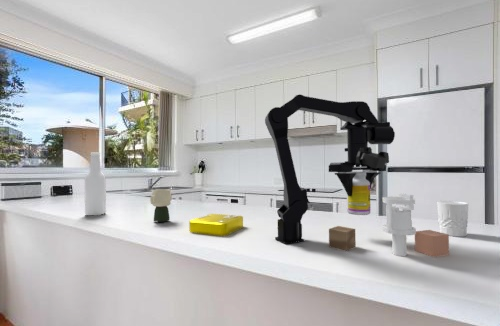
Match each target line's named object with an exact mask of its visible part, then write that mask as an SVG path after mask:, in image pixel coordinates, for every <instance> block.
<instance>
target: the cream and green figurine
mask: <svg viewBox="0 0 500 326" xmlns="http://www.w3.org/2000/svg"><path fill="white" fill-rule="evenodd" d="M151 194H152V195H150V197H149V198H150V200H149V201H150V204H151V205H152V206H154V207H155V208H154V215H153V222H158V223H160V222H169V221H170V212H169V208H168V206H170V205H171V201H172V196H173V195H172V193H171V189H165V188H164V189H153V190H152V191H151ZM159 221H160V222H159Z"/></svg>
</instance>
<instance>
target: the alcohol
mask: <svg viewBox="0 0 500 326" xmlns="http://www.w3.org/2000/svg"><path fill="white" fill-rule="evenodd" d="M100 154H101V153H100V152H95V151H94V152H90V160H89V161H90V162H89V171H88V172H87V174H85V176H84V215H85V216H86V215H98V216H101V215H100V214H103V215H105V214H106V213H107V193H106V191H107V189H106V188H107V183H106V182H107V181H106V175H105V174H104V173H103V171H102V168H101V159H100V156H101V155H100ZM104 213H105V214H104Z"/></svg>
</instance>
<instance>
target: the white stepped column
mask: <svg viewBox="0 0 500 326" xmlns="http://www.w3.org/2000/svg"><path fill="white" fill-rule="evenodd" d="M398 195H399V196H382V203H384V204H385V216H386V217H385V220H386V222H385V224H384V225H382V228H383V229H382V232H384V233H387V234H391V235H392V236H391V240H392V241H391V244H392V249H391V250H392V253H391V254H393V255H395V256H399V257H407V255H408V253H407V236H415V234H416V231H417V230H416V229H417V228H416V227H414V226H413V221H412V220H413V219H412V211H413V210H415V209H414V205H416V198H414V195H413V194H407V193H400V194H398ZM396 205H402V206H399V207H396Z"/></svg>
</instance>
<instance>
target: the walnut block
mask: <svg viewBox="0 0 500 326" xmlns="http://www.w3.org/2000/svg"><path fill="white" fill-rule="evenodd" d="M356 244H357V243H356V228H351V227H347V226H340V225H337V226H333V227H330V228H328V245H329V248H331V249H336V250H340V251H344V252H349V251H350V250H352V249H354V248H356Z"/></svg>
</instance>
